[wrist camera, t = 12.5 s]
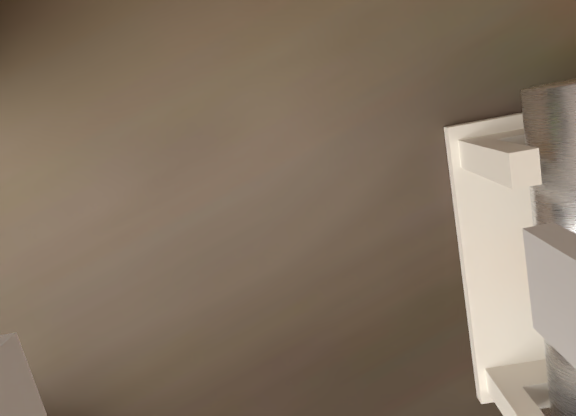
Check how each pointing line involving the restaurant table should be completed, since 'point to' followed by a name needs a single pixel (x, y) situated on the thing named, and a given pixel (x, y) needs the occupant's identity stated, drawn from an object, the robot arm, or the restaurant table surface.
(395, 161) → the restaurant table surface
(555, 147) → the air tube
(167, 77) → the restaurant table surface
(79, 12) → the restaurant table surface
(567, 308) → the robot arm
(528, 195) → the collar stand
